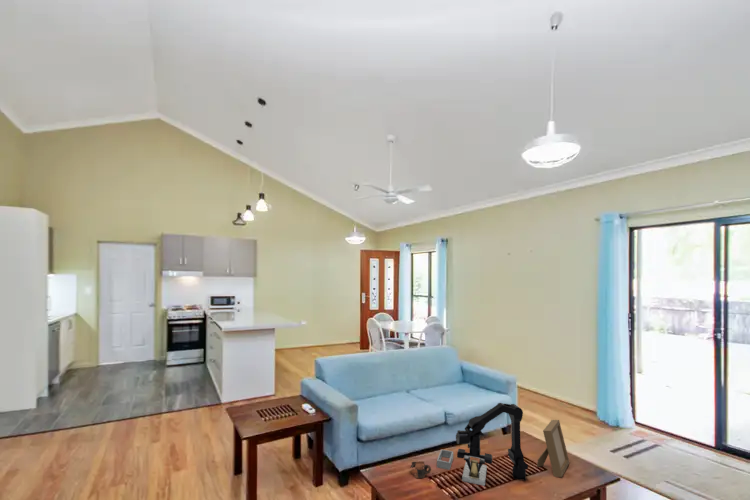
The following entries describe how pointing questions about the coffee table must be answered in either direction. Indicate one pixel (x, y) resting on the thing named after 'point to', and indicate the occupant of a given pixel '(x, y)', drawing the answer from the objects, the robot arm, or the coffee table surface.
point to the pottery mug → (420, 469)
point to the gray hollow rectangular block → (443, 463)
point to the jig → (479, 480)
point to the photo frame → (554, 449)
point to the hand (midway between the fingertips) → (474, 471)
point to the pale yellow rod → (474, 468)
